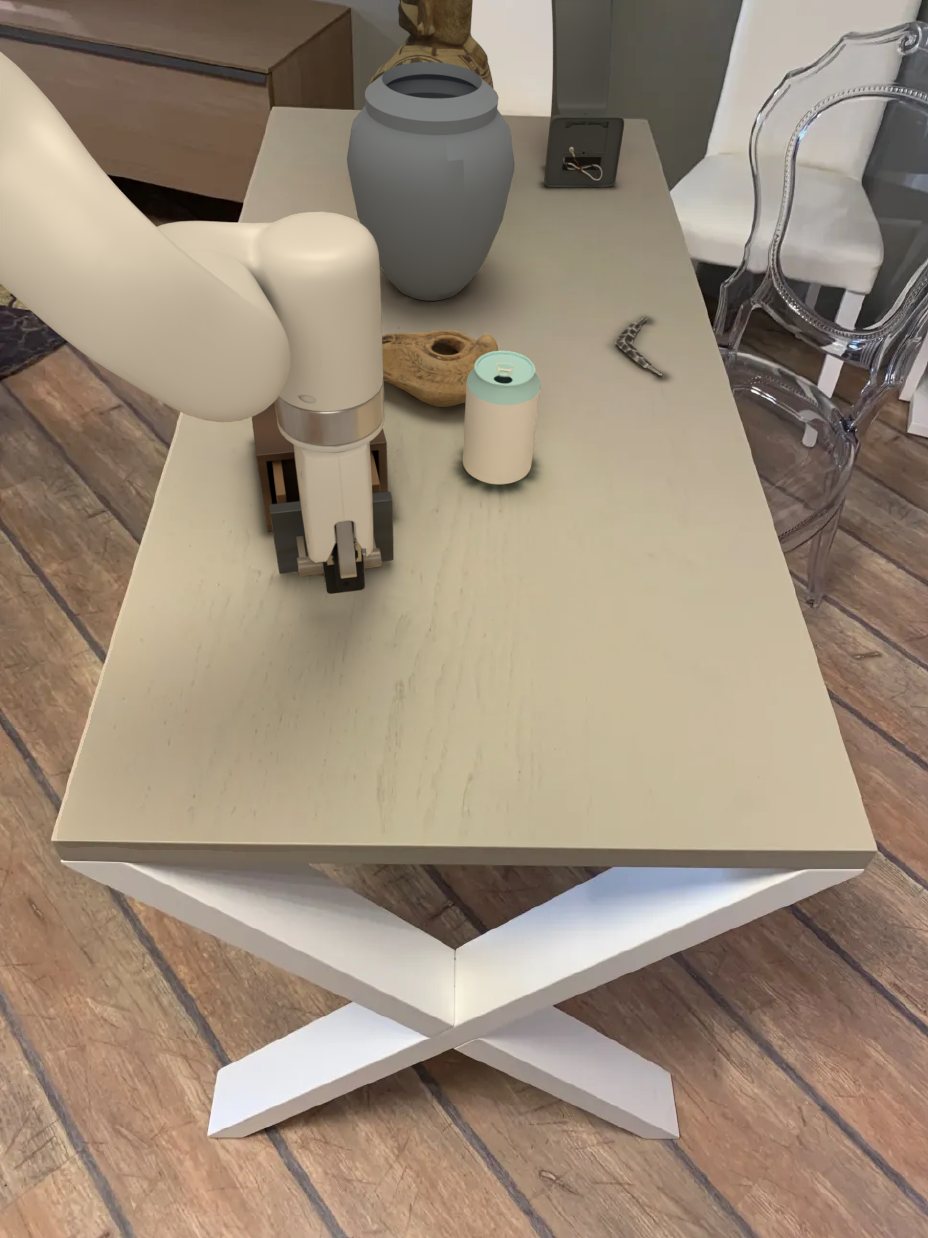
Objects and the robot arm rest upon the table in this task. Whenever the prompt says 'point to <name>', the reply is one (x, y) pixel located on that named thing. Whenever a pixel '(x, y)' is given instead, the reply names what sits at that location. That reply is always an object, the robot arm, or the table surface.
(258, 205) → the table surface
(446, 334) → the oil lamp
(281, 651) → the table surface
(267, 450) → the cabinet
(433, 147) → the vase
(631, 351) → the boomerang
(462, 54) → the brown tall carved piece
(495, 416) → the can
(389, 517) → the drawer
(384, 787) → the table surface
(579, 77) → the light fixture
